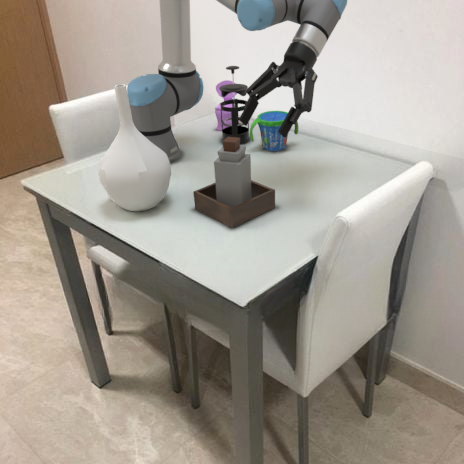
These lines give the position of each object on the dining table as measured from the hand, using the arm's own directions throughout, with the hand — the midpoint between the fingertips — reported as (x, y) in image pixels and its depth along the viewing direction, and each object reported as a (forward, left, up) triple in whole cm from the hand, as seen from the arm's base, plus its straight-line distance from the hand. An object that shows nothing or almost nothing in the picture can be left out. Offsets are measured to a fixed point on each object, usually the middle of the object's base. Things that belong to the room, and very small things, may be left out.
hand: (261, 128), depth 123 cm
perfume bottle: (0, -10, -18) cm, 21 cm away
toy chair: (-49, +31, -18) cm, 61 cm away
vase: (-21, -25, -18) cm, 37 cm away
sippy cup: (-22, +27, -18) cm, 39 cm away
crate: (0, -10, -18) cm, 21 cm away
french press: (-37, +24, -18) cm, 48 cm away
